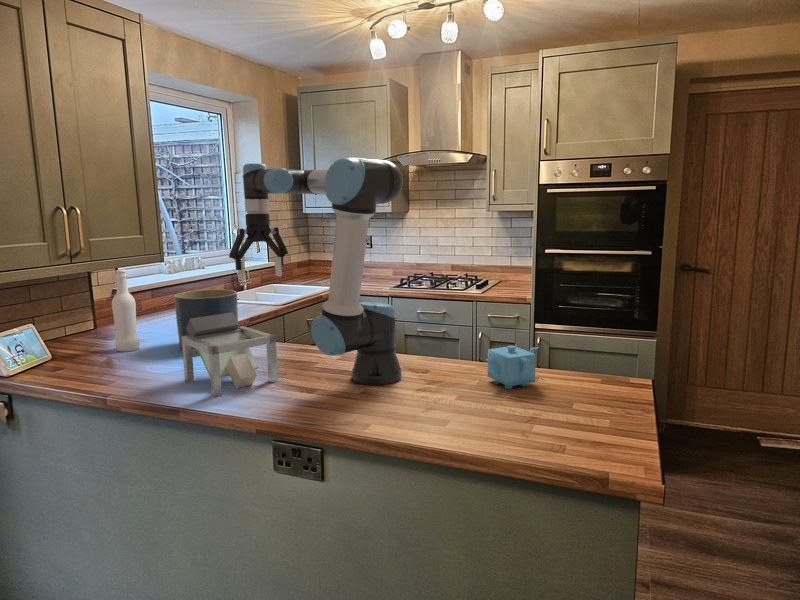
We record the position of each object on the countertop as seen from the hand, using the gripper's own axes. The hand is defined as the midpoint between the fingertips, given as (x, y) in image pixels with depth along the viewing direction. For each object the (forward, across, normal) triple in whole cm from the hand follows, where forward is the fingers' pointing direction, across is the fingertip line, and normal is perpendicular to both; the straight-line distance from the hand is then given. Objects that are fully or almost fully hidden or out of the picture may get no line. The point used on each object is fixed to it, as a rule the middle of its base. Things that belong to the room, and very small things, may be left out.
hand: (260, 278), depth 183 cm
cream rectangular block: (+22, +18, +14) cm, 31 cm away
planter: (+29, +3, -36) cm, 46 cm away
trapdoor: (+20, +18, +5) cm, 28 cm away
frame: (+29, +18, +11) cm, 36 cm away
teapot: (+29, -39, +73) cm, 88 cm away
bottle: (+29, +27, -53) cm, 66 cm away
